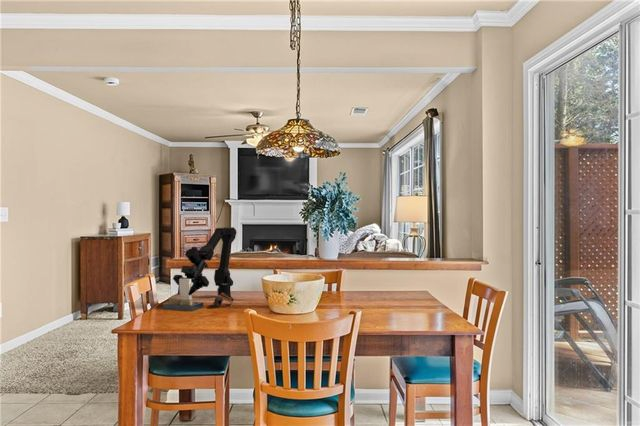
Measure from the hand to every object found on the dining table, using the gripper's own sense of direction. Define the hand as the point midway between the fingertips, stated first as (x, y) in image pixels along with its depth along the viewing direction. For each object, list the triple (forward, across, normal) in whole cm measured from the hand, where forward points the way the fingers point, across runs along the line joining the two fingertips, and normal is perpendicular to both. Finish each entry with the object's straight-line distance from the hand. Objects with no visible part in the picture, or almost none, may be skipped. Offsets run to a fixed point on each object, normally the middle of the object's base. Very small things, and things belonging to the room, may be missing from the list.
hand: (183, 294), depth 230 cm
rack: (+6, 0, +5) cm, 7 cm away
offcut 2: (+6, +3, +3) cm, 8 cm away
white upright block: (+4, 0, +6) cm, 7 cm away
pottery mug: (-1, +16, +12) cm, 20 cm away
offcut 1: (+6, -3, +3) cm, 8 cm away
